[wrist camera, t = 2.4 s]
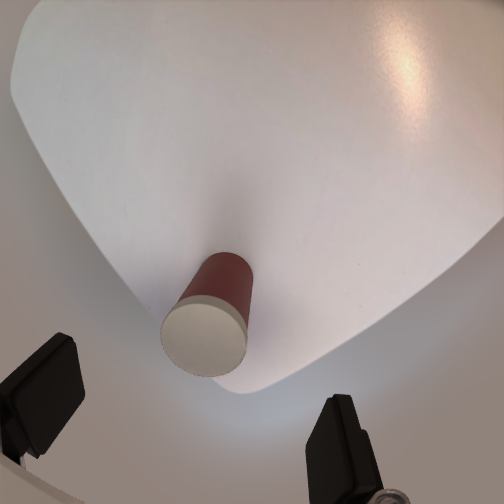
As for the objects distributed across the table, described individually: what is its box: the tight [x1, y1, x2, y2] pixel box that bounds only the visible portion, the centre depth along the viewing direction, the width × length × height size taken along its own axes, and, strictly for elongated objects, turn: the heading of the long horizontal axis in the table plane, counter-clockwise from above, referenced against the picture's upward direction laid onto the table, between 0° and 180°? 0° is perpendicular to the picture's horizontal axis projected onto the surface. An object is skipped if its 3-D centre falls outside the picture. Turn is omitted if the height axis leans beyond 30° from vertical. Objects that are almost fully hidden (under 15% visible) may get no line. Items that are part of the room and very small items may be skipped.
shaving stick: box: [161, 252, 253, 377], centre depth 18 cm, size 4×4×9 cm
